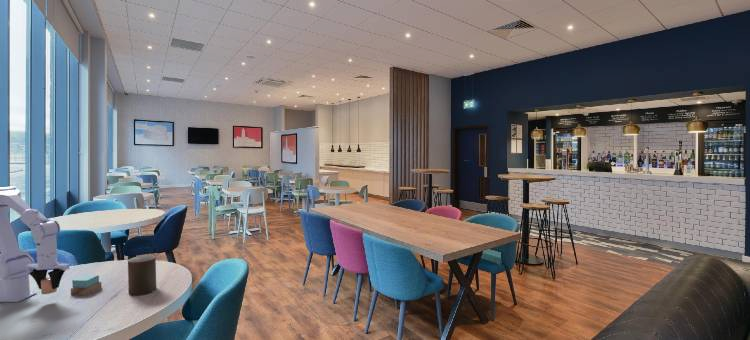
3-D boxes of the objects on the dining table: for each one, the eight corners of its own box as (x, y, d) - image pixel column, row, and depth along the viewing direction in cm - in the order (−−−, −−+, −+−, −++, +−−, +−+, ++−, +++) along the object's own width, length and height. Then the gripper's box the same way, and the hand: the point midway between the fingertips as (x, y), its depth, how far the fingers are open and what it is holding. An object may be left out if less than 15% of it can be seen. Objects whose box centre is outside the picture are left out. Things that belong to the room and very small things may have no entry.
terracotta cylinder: (38, 294, 135) (37, 281, 134) (48, 289, 139) (47, 276, 139) (50, 294, 135) (49, 281, 134) (60, 289, 139) (59, 276, 139)
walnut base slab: (71, 295, 144) (70, 288, 143) (84, 288, 151) (84, 281, 150) (88, 295, 144) (88, 288, 144) (101, 288, 151) (101, 281, 151)
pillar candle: (143, 296, 142) (142, 259, 141) (122, 294, 144) (121, 258, 143) (162, 287, 152) (161, 252, 151) (142, 285, 153) (141, 251, 153)
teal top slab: (72, 287, 145) (72, 280, 144) (85, 281, 150) (84, 274, 150) (87, 287, 144) (86, 280, 144) (99, 282, 150) (98, 275, 150)
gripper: (17, 256, 132) (19, 292, 133) (57, 256, 132) (59, 292, 133) (34, 250, 139) (36, 284, 140) (73, 250, 139) (74, 284, 140)
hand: (49, 288), depth 137 cm, fingers closed on terracotta cylinder, 4 cm apart
